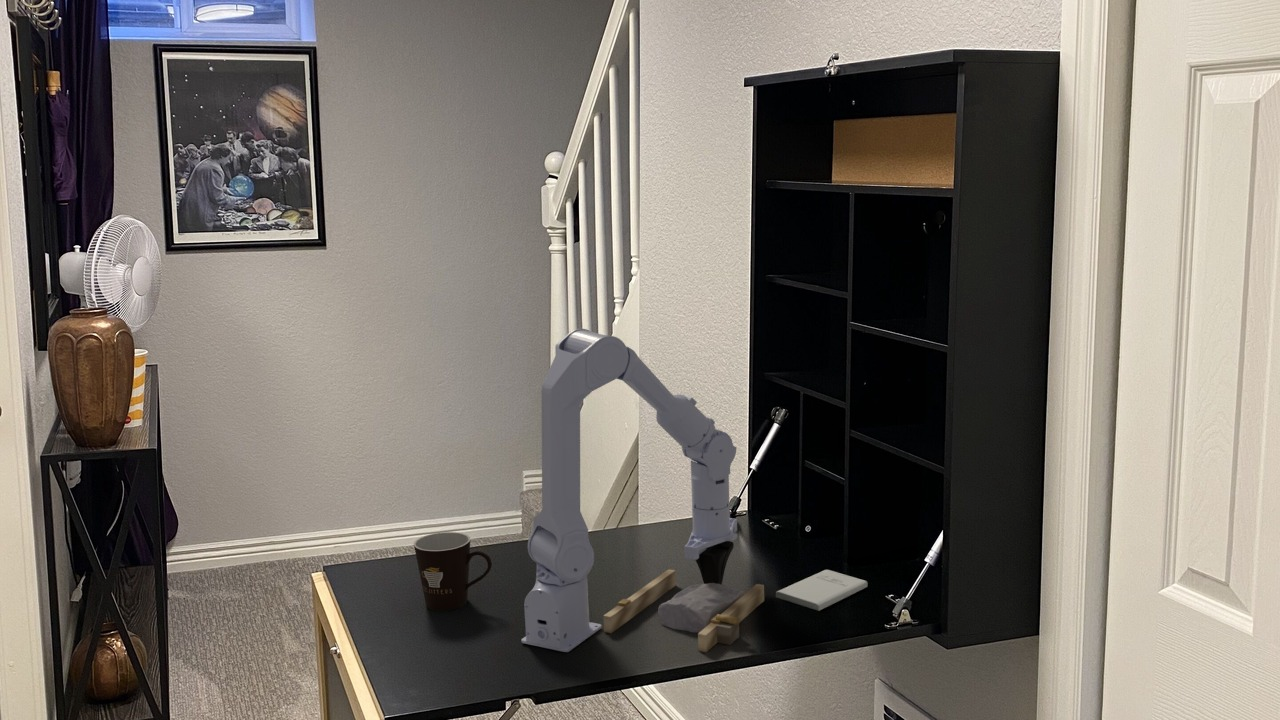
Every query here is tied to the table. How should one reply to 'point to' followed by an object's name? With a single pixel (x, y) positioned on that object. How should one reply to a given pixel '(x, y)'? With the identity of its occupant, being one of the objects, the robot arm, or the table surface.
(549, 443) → the robot arm
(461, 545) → the coffee mug
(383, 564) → the table surface
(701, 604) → the stone block
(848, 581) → the external hard drive
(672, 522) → the table surface
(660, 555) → the table surface
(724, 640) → the beam track
